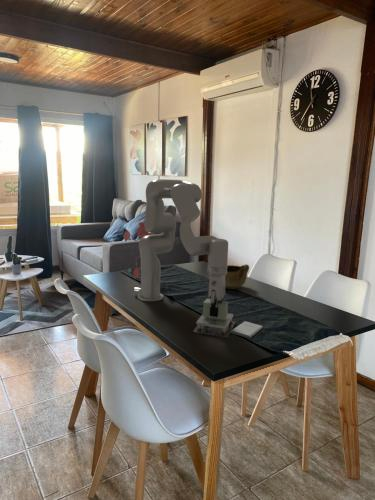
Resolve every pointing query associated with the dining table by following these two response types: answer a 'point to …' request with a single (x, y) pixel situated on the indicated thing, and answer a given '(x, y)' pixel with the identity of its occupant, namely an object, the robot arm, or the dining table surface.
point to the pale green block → (221, 309)
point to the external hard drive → (246, 329)
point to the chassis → (215, 326)
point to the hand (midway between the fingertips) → (215, 313)
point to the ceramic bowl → (236, 276)
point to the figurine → (142, 233)
